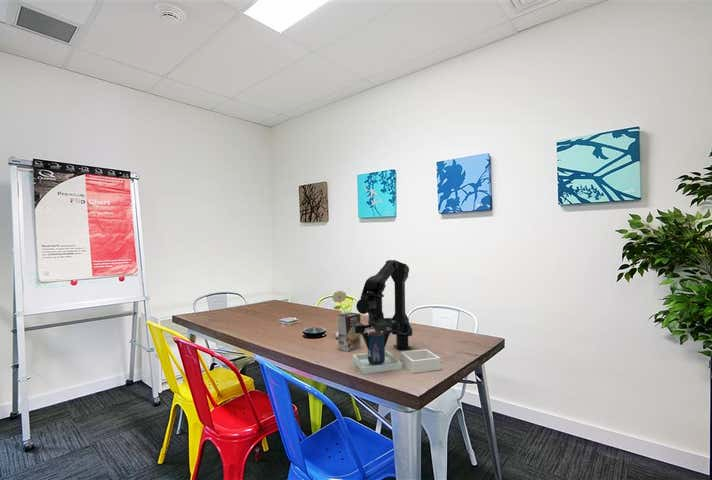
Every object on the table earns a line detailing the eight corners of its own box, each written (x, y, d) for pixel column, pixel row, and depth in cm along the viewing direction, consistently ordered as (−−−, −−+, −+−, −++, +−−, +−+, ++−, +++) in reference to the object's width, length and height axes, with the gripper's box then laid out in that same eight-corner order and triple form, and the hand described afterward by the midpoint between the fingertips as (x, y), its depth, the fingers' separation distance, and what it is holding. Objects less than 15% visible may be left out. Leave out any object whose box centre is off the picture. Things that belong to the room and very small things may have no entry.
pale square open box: (400, 362, 140) (400, 351, 140) (426, 359, 144) (426, 349, 144) (412, 373, 129) (412, 361, 129) (440, 369, 132) (440, 358, 132)
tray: (352, 360, 144) (352, 354, 144) (388, 356, 149) (387, 351, 149) (363, 374, 129) (363, 367, 129) (402, 369, 133) (402, 363, 133)
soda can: (379, 358, 144) (378, 330, 144) (388, 363, 137) (387, 333, 138) (364, 361, 140) (364, 332, 140) (373, 366, 134) (372, 336, 134)
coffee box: (347, 352, 156) (346, 317, 156) (338, 349, 161) (337, 315, 161) (361, 347, 163) (360, 313, 163) (352, 344, 167) (351, 312, 167)
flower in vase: (358, 334, 186) (357, 289, 186) (355, 340, 174) (354, 291, 175) (334, 334, 187) (333, 289, 187) (330, 340, 175) (329, 292, 176)
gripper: (358, 315, 129) (359, 356, 129) (404, 311, 134) (405, 351, 134) (351, 309, 140) (352, 347, 140) (393, 306, 145) (394, 343, 144)
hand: (376, 347), depth 139 cm, fingers closed on soda can, 7 cm apart
